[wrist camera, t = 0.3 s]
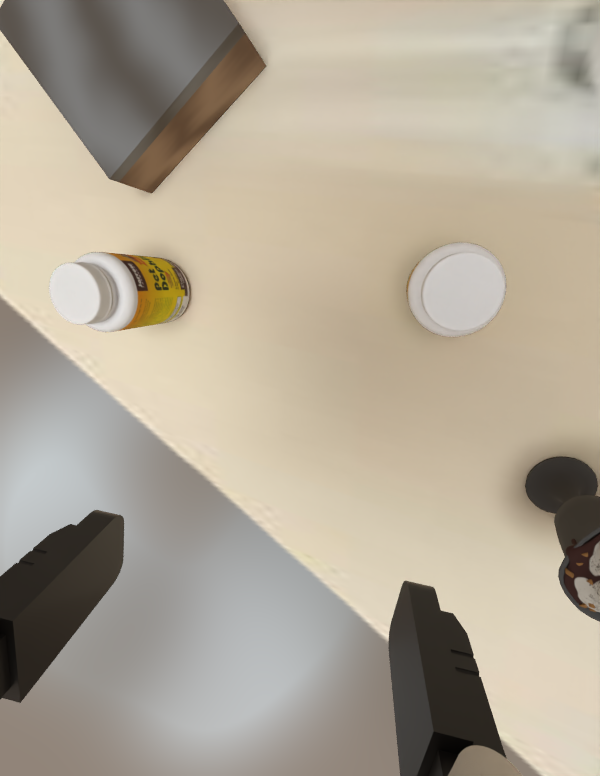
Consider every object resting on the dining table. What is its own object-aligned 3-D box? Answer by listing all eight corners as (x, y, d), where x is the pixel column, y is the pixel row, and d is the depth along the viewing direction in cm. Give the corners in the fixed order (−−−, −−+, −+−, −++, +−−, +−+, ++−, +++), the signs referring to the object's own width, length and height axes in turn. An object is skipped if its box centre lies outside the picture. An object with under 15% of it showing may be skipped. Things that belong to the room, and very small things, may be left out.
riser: (155, -97, 27) (103, -176, 22) (266, 65, 28) (238, 22, 23) (53, 58, 31) (-7, 20, 27) (151, 193, 32) (109, 178, 28)
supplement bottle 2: (396, 313, 30) (394, 329, 21) (420, 242, 28) (428, 225, 19) (466, 333, 29) (495, 357, 20) (495, 260, 27) (540, 251, 18)
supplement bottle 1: (204, 288, 34) (125, 292, 24) (169, 334, 36) (84, 354, 26) (158, 243, 33) (61, 229, 24) (126, 291, 36) (25, 296, 26)
